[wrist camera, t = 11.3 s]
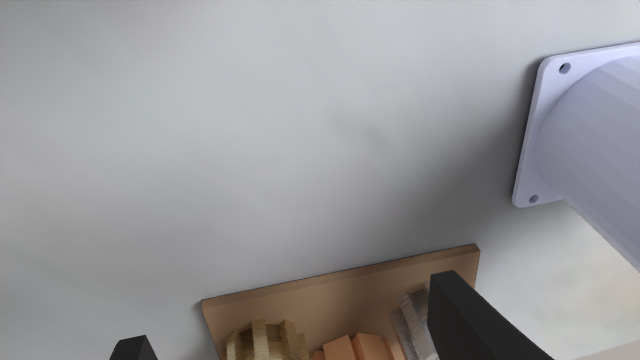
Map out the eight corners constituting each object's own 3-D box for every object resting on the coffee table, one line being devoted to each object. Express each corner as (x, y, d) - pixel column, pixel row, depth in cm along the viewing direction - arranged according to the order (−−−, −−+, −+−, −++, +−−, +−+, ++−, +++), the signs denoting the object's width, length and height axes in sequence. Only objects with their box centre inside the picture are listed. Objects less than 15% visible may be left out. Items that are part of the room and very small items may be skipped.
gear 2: (468, 272, 26) (509, 336, 22) (460, 323, 28) (495, 388, 25) (389, 288, 25) (418, 357, 22) (389, 339, 28) (414, 407, 24)
